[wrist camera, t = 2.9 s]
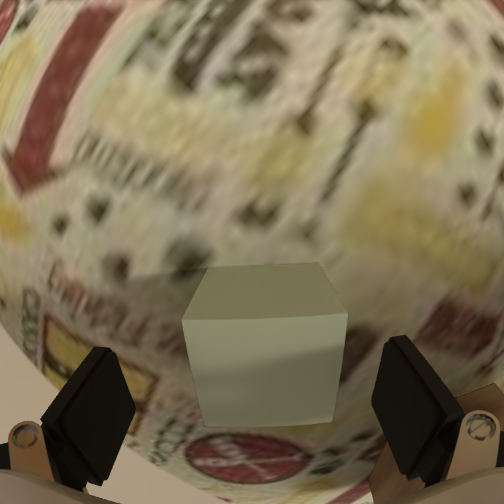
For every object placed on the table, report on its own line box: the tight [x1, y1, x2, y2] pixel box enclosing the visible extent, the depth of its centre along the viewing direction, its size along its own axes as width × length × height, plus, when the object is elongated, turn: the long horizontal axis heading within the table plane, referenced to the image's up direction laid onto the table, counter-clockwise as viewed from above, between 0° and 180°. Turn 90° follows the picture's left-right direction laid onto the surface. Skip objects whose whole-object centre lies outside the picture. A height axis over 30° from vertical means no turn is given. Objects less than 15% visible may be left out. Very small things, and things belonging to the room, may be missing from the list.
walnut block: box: [368, 383, 504, 504], centre depth 14 cm, size 10×10×6 cm
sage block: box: [181, 263, 348, 427], centre depth 11 cm, size 5×5×5 cm
